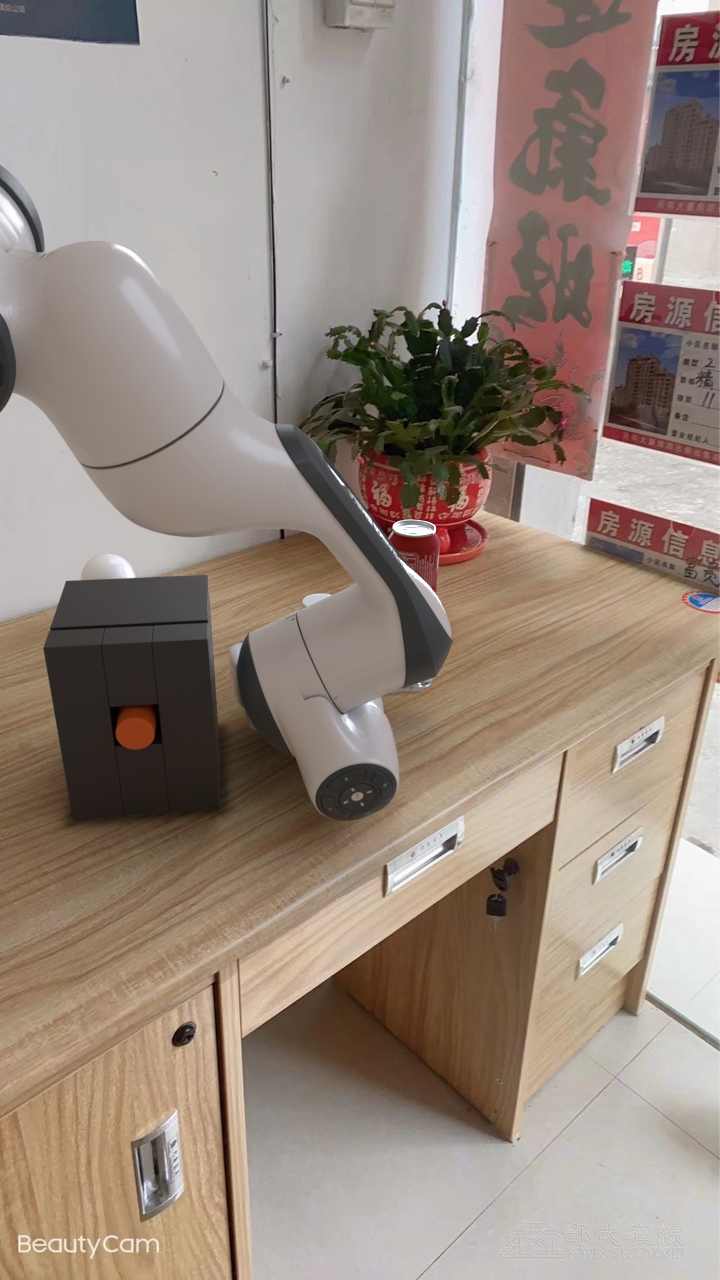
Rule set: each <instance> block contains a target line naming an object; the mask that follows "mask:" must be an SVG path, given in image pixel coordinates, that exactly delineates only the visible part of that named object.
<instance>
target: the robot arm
mask: <svg viewBox="0 0 720 1280" xmlns="http://www.w3.org/2000/svg"><path fill="white" fill-rule="evenodd" d="M45 249H46V247H45V236H44V229H43V225H42V222H41V218H40V215H39V212H38V210H37V207H36V205H35V203H34V201H33V199H32V197H31V195H30V194H29V193H28V192H27V190H26V189H25V187H24V185H22V183H21V182H20V181H19V180H18V178H17V177H15V176H14V175H13V173H12V172H10V171H9V170H8V169H6V168H5V167H4V166H3V165H2V164H0V413H2V411H3V410H4V409H5V408H6V406H7V405H8V403H9V401H10V399H11V397H12V395H13V394H14V395H19V396H21V397H23V398H25V399H26V400H28V401H30V402H31V403H33V404H34V405H35V406H36V407H37V408H38V409H39V410H40V411H42V413H43V414H44V415H45V416H46V417H47V419H48V421H50V422H51V423H52V425H53V427H54V428H55V429H56V431H57V432H58V434H59V435H60V437H61V438H62V439H63V441H64V443H65V444H66V445H67V447H68V449H69V450H70V451H71V453H72V454H73V456H74V457H75V459H76V460H77V461H78V463H79V465H80V466H81V468H82V469H83V471H85V474H87V476H88V477H89V479H90V480H91V481H92V483H93V484H94V485H95V487H96V488H97V489H98V491H99V492H100V493H101V494H102V495H103V496H104V498H105V499H106V500H107V501H108V502H109V504H111V506H112V507H113V508H114V509H115V510H116V511H118V513H119V514H121V515H122V516H123V517H124V518H126V519H127V520H128V521H130V522H131V523H132V524H134V525H136V526H138V527H140V528H143V529H144V530H145V529H146V530H148V531H151V532H154V533H159V534H163V535H166V536H173V537H179V538H180V537H181V538H205V537H215V536H220V535H227V534H232V533H238V532H239V533H240V532H246V531H259V530H293V531H300V532H304V533H307V534H310V535H312V536H314V537H315V538H317V539H318V540H320V541H321V542H322V543H323V545H324V546H325V547H326V548H327V549H328V551H329V552H330V553H331V554H332V556H334V558H335V559H336V561H337V562H338V563H339V564H340V565H341V567H343V569H344V570H345V572H347V574H348V575H349V576H350V578H351V579H352V580H353V581H354V582H353V583H352V584H351V585H349V586H348V587H346V588H344V589H342V590H340V591H338V592H336V593H333V594H330V595H331V596H329V597H327V598H325V599H323V600H320V601H318V602H316V603H314V604H312V605H310V606H307V607H305V608H303V609H302V608H301V609H299V610H294V611H292V612H290V613H288V614H285V615H284V616H281V617H279V618H277V619H275V620H273V621H271V622H269V623H266V624H264V625H261V626H260V627H259V628H257V629H255V630H253V631H251V632H247V635H246V636H245V638H244V639H243V641H242V642H237V643H235V644H233V645H231V647H229V649H228V659H229V660H228V662H229V674H230V683H231V687H232V690H233V695H234V697H235V699H236V702H237V703H238V704H239V706H240V707H241V708H243V709H244V713H245V718H246V719H245V720H246V722H247V723H246V724H247V726H248V727H249V729H251V730H255V731H257V733H258V734H259V735H260V737H261V738H262V740H264V741H265V742H266V743H267V744H268V745H270V746H271V747H273V748H275V750H277V751H279V752H281V753H282V754H284V755H286V756H288V757H292V758H295V760H296V763H297V766H298V768H299V772H300V774H301V778H302V781H303V785H304V787H305V789H306V792H307V794H308V796H309V799H310V802H311V803H312V805H313V807H314V808H315V809H316V810H317V812H318V813H319V814H320V815H322V816H324V817H325V818H328V819H330V820H334V821H339V822H351V821H356V820H361V819H363V818H367V817H368V816H371V815H373V814H375V813H377V812H379V811H381V810H382V809H385V808H386V807H387V806H388V805H389V804H390V803H391V802H392V801H393V799H394V798H395V796H396V794H397V793H398V789H399V786H400V785H399V784H400V763H399V756H398V751H397V750H398V749H397V745H396V740H395V736H394V732H393V730H392V726H391V723H390V721H389V719H388V716H387V715H386V713H385V707H384V702H383V698H388V697H404V696H410V695H417V694H421V693H422V692H423V690H426V689H428V688H431V687H432V686H433V684H434V678H436V677H437V676H438V674H439V672H441V670H442V667H443V665H444V664H445V662H446V660H447V658H448V656H449V654H450V651H451V649H452V645H453V643H454V639H453V637H452V627H451V624H450V620H449V617H448V614H447V612H446V610H445V608H444V606H443V604H442V602H441V600H440V599H439V597H438V595H437V593H436V594H435V593H434V591H433V590H432V589H431V588H430V587H429V585H428V584H427V583H426V582H425V581H424V580H423V579H421V578H420V577H419V576H418V575H417V574H416V573H415V572H414V571H413V570H412V568H411V567H410V566H409V565H408V563H407V562H406V561H405V560H404V559H403V557H402V556H401V555H400V554H399V552H398V551H397V550H396V549H395V547H394V546H393V544H392V543H391V542H390V540H389V539H388V536H387V535H386V533H385V532H384V531H383V529H382V528H381V527H380V525H379V524H378V523H377V522H376V520H375V518H374V517H373V516H372V514H371V513H370V512H369V509H367V508H366V507H365V505H364V503H363V501H361V500H360V497H358V496H357V494H356V493H355V492H354V490H353V489H352V487H351V486H350V485H349V483H348V481H346V479H345V478H344V477H343V476H342V474H341V473H340V472H339V471H338V469H337V467H335V465H334V464H333V462H332V461H331V460H330V459H329V458H328V456H327V455H326V454H325V453H324V451H323V450H322V449H321V448H320V447H319V446H318V444H317V443H316V442H315V441H314V440H313V439H312V438H311V437H310V436H309V435H308V434H307V433H305V432H304V430H302V429H300V427H297V426H296V425H295V424H291V423H290V424H288V423H278V422H277V423H276V422H275V423H273V422H271V421H269V420H267V419H265V418H263V417H261V416H260V415H259V414H257V413H255V412H254V411H253V410H251V409H249V408H248V407H247V406H246V405H244V404H243V402H241V400H239V398H238V397H237V396H236V395H235V394H234V393H233V392H232V391H231V388H229V386H228V384H227V382H226V380H225V379H224V377H223V375H222V373H221V371H220V369H219V367H218V366H217V364H216V362H215V361H214V359H213V357H212V355H211V353H210V352H209V350H208V348H207V346H206V345H205V344H204V342H203V340H202V338H201V337H200V335H199V334H198V332H197V331H196V329H195V327H194V326H193V324H192V323H191V322H190V320H189V319H188V317H187V316H186V315H185V313H184V311H183V310H182V308H181V307H180V306H179V304H178V303H177V301H176V300H175V299H174V297H173V296H172V295H171V294H170V292H169V291H168V290H167V288H166V287H165V286H164V284H163V283H162V282H161V280H160V279H159V278H158V277H157V276H156V274H155V273H154V272H153V271H152V270H151V268H150V267H149V266H148V265H147V263H146V262H145V261H144V260H143V259H142V258H141V257H140V256H139V255H138V254H136V253H135V252H134V251H133V250H131V249H128V248H127V247H125V246H123V245H122V244H121V245H120V244H118V243H115V242H111V241H105V240H86V241H76V242H73V243H72V242H71V243H69V244H65V245H62V246H59V247H57V248H55V249H53V250H51V251H49V252H47V251H46V250H45Z"/></svg>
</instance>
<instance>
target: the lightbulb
mask: <svg viewBox="0 0 720 1280" xmlns="http://www.w3.org/2000/svg"><path fill="white" fill-rule="evenodd" d="M120 578H136V574H135V571H134V569H133V567H132V565H131V564H130V562H128V560H127V559H126V558H123V557H122V556H120V555H118V554H114V553H102V554H98V555H95V556H93V557H91V558H90V559H89V560H88V561H87V562H86V563H85V564H84V566H83V568H82V570H81V573H80V580H97V579H120Z"/></svg>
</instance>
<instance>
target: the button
mask: <svg viewBox="0 0 720 1280" xmlns="http://www.w3.org/2000/svg"><path fill="white" fill-rule="evenodd" d="M156 717H157V710H156V707H155V705H154V704H152V705H136V706H121V707H120V709H119V715H118V721H117V727H116V738H117V740H118V742H119V743H120V744H121V745H122V746H124V747H126V748H128V749H133V750H138V749H143V748H145V747H147V746H149V745H150V744H151V743H152V741H153V740H154V737H155V728H156Z"/></svg>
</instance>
